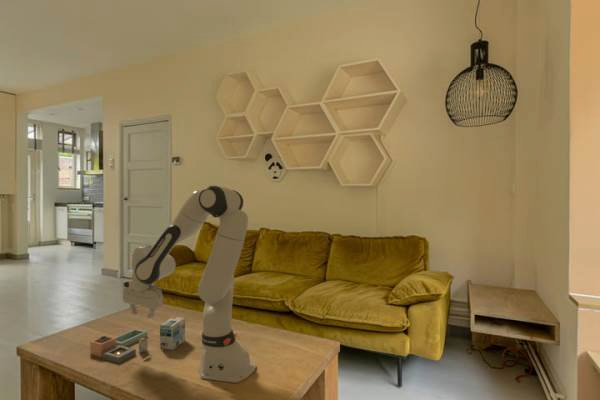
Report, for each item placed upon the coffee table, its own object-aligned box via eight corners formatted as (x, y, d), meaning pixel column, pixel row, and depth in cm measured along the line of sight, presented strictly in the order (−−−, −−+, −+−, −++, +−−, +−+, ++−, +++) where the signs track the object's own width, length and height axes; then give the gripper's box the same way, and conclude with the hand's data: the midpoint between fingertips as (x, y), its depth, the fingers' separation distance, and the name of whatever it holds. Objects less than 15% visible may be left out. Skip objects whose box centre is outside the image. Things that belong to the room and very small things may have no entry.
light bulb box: (172, 350, 146) (172, 326, 146) (159, 349, 148) (159, 324, 148) (185, 340, 157) (185, 317, 157) (173, 338, 158) (173, 316, 158)
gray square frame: (135, 356, 141) (135, 349, 141) (118, 365, 134) (118, 357, 134) (119, 351, 145) (119, 344, 145) (101, 360, 138) (101, 352, 138)
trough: (147, 338, 159) (147, 331, 159) (121, 350, 146) (121, 343, 146) (135, 335, 162) (135, 328, 162) (108, 347, 149) (108, 340, 149)
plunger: (127, 353, 141) (127, 351, 141) (117, 358, 136) (117, 356, 136) (119, 351, 142) (119, 349, 142) (110, 356, 138) (110, 354, 138)
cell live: (149, 352, 144) (149, 337, 144) (142, 356, 141) (142, 341, 141) (143, 351, 146) (143, 336, 146) (137, 354, 143) (137, 339, 142)
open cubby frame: (116, 351, 145) (116, 338, 145) (101, 358, 139) (101, 344, 139) (105, 348, 148) (105, 335, 148) (90, 355, 141) (90, 341, 141)
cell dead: (109, 350, 144) (109, 336, 144) (102, 354, 141) (102, 339, 141) (104, 349, 145) (104, 334, 145) (96, 352, 142) (96, 337, 142)
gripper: (166, 284, 142) (166, 317, 142) (132, 279, 150) (132, 309, 150) (155, 288, 136) (154, 322, 136) (119, 282, 144) (119, 314, 144)
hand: (142, 315), depth 143 cm, fingers open, 8 cm apart
